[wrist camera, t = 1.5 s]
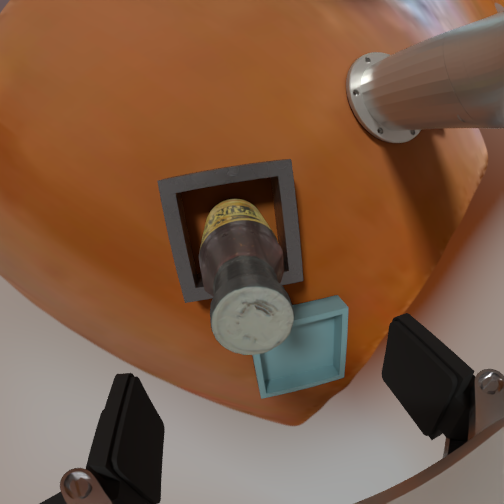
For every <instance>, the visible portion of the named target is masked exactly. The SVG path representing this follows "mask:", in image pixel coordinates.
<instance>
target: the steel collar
mask: <svg viewBox="0 0 504 504" xmlns="http://www.w3.org/2000/svg"><path fill="white" fill-rule="evenodd" d="M268 177H270V178H271V186H272V193H273V201H274V209H275V217H276V225H277V234H278V242H279V245H280V246H281V248H282V251H283V259H284V262H283V266H284V274H283V277H282V280H281V283H280V284H281V285H286V284H291V283H296V282H301V281H303V270H302V257H301V246H300V235H299V224H298V214H297V205H296V196H295V187H294V179H293V170H292V162H291V159H285V160H274V161H266V162H258V163H251V164H244V165H237V166H231V167H224V168H218V169H212V170H207V171H201V172H196V173H191V174H185V175H180V176H175V177H171V178H166V179H162V180H159V181H158V186H159V192H160V197H161V202H162V207H163V212H164V217H165V222H166V226H167V231H168V236H169V240H170V245H171V249H172V253H173V257H174V262H175V266H176V270H177V274H178V278H179V282H180V285H181V289H182V293H183V297H184V300H185V303H187V302H193V301H199V300H205V299H211V298H214V297H213V296H212V295H210V294H209V293H207V292H206V291H205V289H204V285H203V280H202V274H201V273H198V274H197V271H196V266H195V262H194V257H193V252H192V248H191V243H190V238H189V233H188V229H187V224H186V218H185V213H184V208H183V203H182V197H181V192H183V191H189V190H194V189H199V188H205V187H210V186H216V185H222V184H228V183H234V182H240V181H247V180H253V179H260V178H268Z"/></svg>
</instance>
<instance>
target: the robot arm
mask: <svg viewBox="0 0 504 504" xmlns="http://www.w3.org/2000/svg"><path fill="white" fill-rule="evenodd" d="M346 90H347V97H348V100H349V104H350V106H351V109H352V111H353V113H354V115H355V116H356V118H357V119H358V121H359V122H360V124H361V125H362V126H363V127H364V128H365V129H366V130H367V131H368V132H369V133H370V134H372V135H373V136H375V137H376V138H378V139H380V140H382V141H385V142H389V143H403V142H408V141H410V140H411V139H413V138H415V137H416V136H417V135H418V134H419V132H420V131H421V129H442V128H504V11H502V12H499V13H497V14H495V15H492V16H490V17H487V18H484V19H482V20H479V21H476V22H473V23H471V24H468V25H465V26H462V27H459V28H456V29H453V30H451V31H448V32H445V33H443V34H440V35H437V36H435V37H432V38H430V39H427V40H425V41H422V42H420V43H417V44H415V45H413V46H410V47H408V48H406V49H404V50H401V51H399V52H397V53H395V54H393V55H389V54H385V53H380V52H373V53H368V54H366V55H363V56H361V57H360V58H358V59H357V60H356V61H355V62H354V63H353V64H352V65H351V67H350V69H349V71H348V75H347V79H346ZM353 93H354V94H353ZM473 373H474V370H472V369H471V368H470V367H469V366H468V365H467V364H466V363H465V362H464V361H463V360H461V359H460V358H459V357H458V356H457V355H456V354H455V353H454V352H453V351H451V350H450V349H449V348H448V347H447V346H446V345H445V344H444V343H442V342H441V341H440V340H439V339H438V338H436V336H434V335H433V334H432V333H431V332H430V331H429V330H427V329H426V328H425V327H424V326H423V325H421V324H420V323H419V322H418V321H417V320H415V319H414V318H413V317H412V316H411V315H410V314H408V313H406V314H403V315H400V316H397V317H395V318H394V319H393V320H392V322H391V323H390V326H389V332H388V340H387V346H386V352H385V358H384V363H383V369H382V378H383V380H384V382H385V383H386V384H387V386H388V387H389V388H390V390H391V391H392V392H393V394H394V395H395V396H396V398H397V399H398V400H399V401H400V403H401V404H402V406H403V407H404V408H405V410H406V411H407V412H408V414H409V415H410V416H411V418H412V419H413V420H414V422H415V423H416V424H417V426H418V427H419V429H420V430H421V431H422V432H423V434H424V435H426V436H429V437H430V438H431V440H433V439H435V438H436V437H438V436H440V435H441V434H442V433H443V434H444V435H445V436H446V441H445V448H444V454H443V459H441V460H440V461H438V462H437V463H435V464H433V465H432V466H430V467H428V468H427V469H425V470H423V471H422V472H420V473H418V474H417V475H415V476H413V477H411V478H409V479H407V480H405V481H403V482H402V483H400V484H397V485H395V486H394V487H391V488H390V489H387V490H385V491H383V492H381V493H378V494H376V495H374V496H372V497H369V498H367V499H364V500H362V501H359V502H357V503H355V504H504V376H503V375H502V374H501V373H500V372H499V371H496V370H493V369H484V370H482V371H480V372H479V373H478V374H477V376H476V377H475V376H474V375H473ZM163 442H164V424H163V421H162V420H161V418H160V416H159V414H158V413H157V411H156V409H155V408H154V406H153V404H152V402H151V400H150V399H149V397H148V395H147V393H146V391H145V389H144V387H143V386H142V383H141V381H140V379H139V378H138V377H134V375H133V374H131V373H126V374H117V375H116V376H115V378H114V381H113V384H112V387H111V390H110V393H109V396H108V399H107V402H106V406H105V409H104V410H103V411H102V413H101V416H100V419H99V422H98V425H97V429H96V432H95V436H94V439H93V443H92V446H91V450H90V454H89V458H88V462H87V466H86V469H83V468H74V469H71V470H69V471H68V472H66V473H65V474H64V475H63V477H62V479H61V481H60V490H61V492H59V493H58V494H56V495H54V496H52V497H51V498H49V499H47V500H45V501H44V502H42V503H40V504H158V503H160V499H161V498H160V497H161V473H162V456H163Z"/></svg>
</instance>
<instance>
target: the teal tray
mask: <svg viewBox="0 0 504 504" xmlns="http://www.w3.org/2000/svg"><path fill="white" fill-rule="evenodd" d="M292 306H293V310H294V322H293V326H292V329H291V332H290V334H289V335H288V337H287V338H286V339H285V341H284V342H283V343H281V344H280V345H279V346H277V347H275V348H273V349H272V350H270V351H268V352H265V353H262V354H256V355H252V356H253V361H254V366H255V371H256V377H257V382H258V386H259V391H260V395H261V399H262V398H267V397H272V396H276V395H281V394H285V393H289V392H294V391H298V390H302V389H305V388H309V387H313V386H317V385H320V384H324V383H327V382H331V381H334V380H337V379H341V378H344V373H345V360H346V346H347V328H348V306H347V305H346V304H345V303H344V302H343V301H342V300H341V299H340V297H339V296H338V295H336V296H332V297H327V298H323V299H319V300H314V301H310V302H306V303H301V304H297V305H292Z"/></svg>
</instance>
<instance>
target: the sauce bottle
mask: <svg viewBox="0 0 504 504" xmlns="http://www.w3.org/2000/svg"><path fill="white" fill-rule="evenodd" d="M283 262H284V259H283V251H282V248H281V246H280V245H279V244H278V241H277V239H276V237H275V235H274V233H273V231H272V230H271V228H270V227H269V225H268V224H267V222H266V221H265V219H264V218H263V216H262V215H261V213H260V212H259V211H258V209H257V208H256V207H255V206H254V205H252V204H251V203H249V202H247V201H245V200H242V199H229V200H226V201H222V202H220V203H219V204H218V205H216V206H215V207H214V208H213V209H212V210H211V211H210V213H209V215H208V217H207V220H206V223H205V228H204V232H203V236H202V241H201V245H200V251H199V263H200V269H201V274H202V280H203V285H204V289H205V291H206V292H207V293H209V294H210V295H212V296H213V297H214V298H213V299H212V302H211V308H210V317H211V328H212V332H213V333H214V336H215V338H216V340H217V341H218V342H219V343H220V344H221V345H222V346H223V347H225V348H226V349H228V350H230V351H232V352H235V353H240V354H243V355H256V354H262V353H265V352H268V351H270V350H272V349H273V348H275V347H277V346H279V345H280V344H281V343H283V342H284V341H285V339H286V338H287V337H288V335H289V334H290V332H291V329H292V326H293V322H294V310H293V306H292V303H291V300H290V298H289V295H288V293H287V292H286V291H285V289H284V287H283V286H282V285H281V284H280V283H281V280H282V277H283V274H284V266H283Z"/></svg>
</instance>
